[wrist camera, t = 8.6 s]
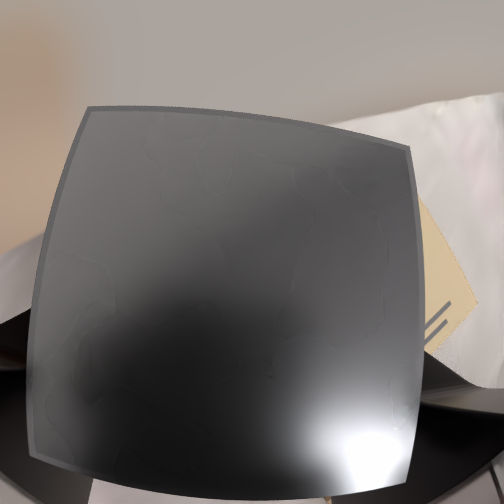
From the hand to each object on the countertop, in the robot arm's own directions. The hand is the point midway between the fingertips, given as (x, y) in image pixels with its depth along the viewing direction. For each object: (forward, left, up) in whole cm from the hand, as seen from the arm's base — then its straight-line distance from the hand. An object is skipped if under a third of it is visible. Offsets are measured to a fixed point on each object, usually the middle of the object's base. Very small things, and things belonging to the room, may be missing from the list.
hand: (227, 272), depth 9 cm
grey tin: (-1, -1, -6) cm, 7 cm away
